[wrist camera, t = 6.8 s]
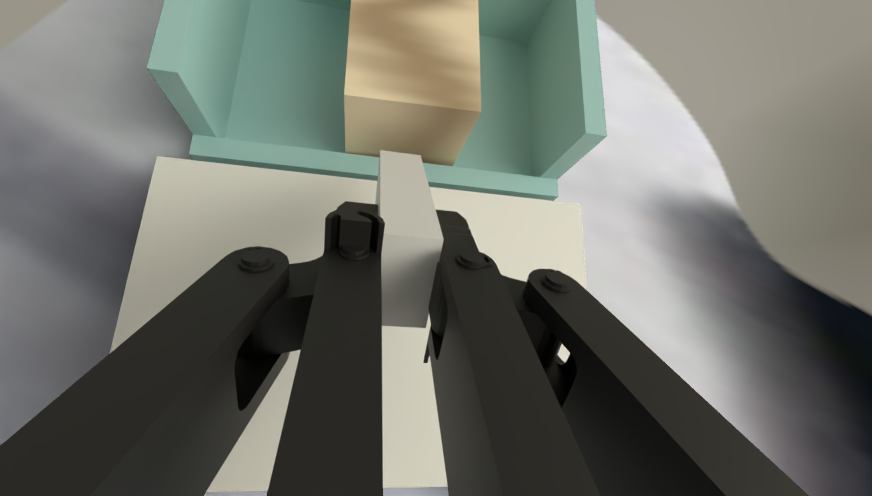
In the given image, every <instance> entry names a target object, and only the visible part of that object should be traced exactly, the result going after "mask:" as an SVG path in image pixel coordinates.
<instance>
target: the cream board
mask: <svg viewBox="0 0 872 496" xmlns="http://www.w3.org/2000/svg"><path fill="white" fill-rule="evenodd" d="M429 188H430V191H431V195H432V199H433V202H434V206H435V209H436V210H445V211H455V212H458V213H459V214H460V215H461V216H463V217H464V218H465V219H466V221H467V223H468V226H469V229H470V231H471V233H472V236H473V238H474V240H475V243H476V245H477V248H478V250H479V252H482V253H484V254H486V255H487V256H489V257H490V258H492V259H493V260H494V262H495V263H496V265H497V267H498V269H499V271H500V273H501V275H504V276H507V277H510V278H513V279H517V280H521V281H525V282H527V279H528V276H529V273H531V272H532V271H533V270H536V269H554V270H555V271H556V270H558V271H561V272H562V273H564V274H566V275H568V276H570V277H571V278H573V279H574V280H576V281H577V282H578V283H579V284H580V285H581V286H582V287H584V288H585V289H586V290H587V285H586V270H585V255H584V240H583V226H582V211H581V204H577V203H568V202H559V201H550V200H541V199H533V198H524V197H515V196H506V195H497V194H488V193H479V192H471V191H462V190H453V189H444V188H435V187H429ZM376 189H377V181H373V180H364V179H355V178H347V177H338V176H329V175H320V174H311V173H302V172H293V171H285V170H276V169H267V168H258V167H249V166H240V165H231V164H223V163H214V162H205V161H196V160H187V159H178V158H169V157H161V156H157V158H156V162H155V166H154V170H153V174H152V179H151V183H150V187H149V191H148V195H147V199H146V204H145V208H144V212H143V216H142V220H141V225H140V229H139V233H138V237H137V241H136V245H135V250H134V254H133V258H132V262H131V266H130V270H129V275H128V279H127V283H126V287H125V291H124V295H123V300H122V304H121V308H120V312H119V316H118V321H117V325H116V329H115V333H114V337H113V341H112V346H111V350H110V353H111V352H112V351H113V350H115V349H116V348H117V347H118V346H119V345H121V344H122V343H123V342H124V341H125V340H126V339H128V338H129V337H130V336H131V335H132V334H134V333H135V332H136V331H137V330H138V329H140V328H141V327H142V326H143V325H144V324H145V323H147V322H148V321H149V320H150V319H151V318H153V317H154V316H155V315H156V314H157V313H159V312H160V311H161V310H162V309H163V308H164V307H166V306H167V305H168V304H169V303H170V302H172V301H173V300H174V299H175V298H176V297H177V296H179V295H180V294H181V293H182V292H183V291H185V290H186V289H187V288H188V287H189V286H191V285H192V284H193V283H194V282H195V281H196V280H198V279H199V278H200V277H201V276H202V275H204V274H205V273H206V272H207V271H208V270H209V269H211V268H212V267H213V266H214V265H215V264H217V263H218V262H219V261H220V260H221V259H223V258H224V257H225V256H226V255H228V254H230V253H232V252H233V251H236V250H239V249H243V248H246V247H252V246H253V247H255V246H261V247H268V248H273V249H276V250H279V251H281V252H282V253H284V254H285V255H286V256H287V257H288V260H289V264H293V263H302V262H308V261H311V260H314V259H317V258H319V257H321V256H322V255H323V252H324V238H325V218H326V216H327V215H328V214H329V213H330V212H333V211H335V210H337V207H338V206H340V205H341V204H343V203H344V202H345V201H349V202H359V203H368V204H375V198H376ZM430 326H431V322H430V316H429V315H428V320H427V325H426V328H415V327H396V326H382V429H383V488H405V487H447V486H448V485H447V477H446V470H445V463H444V456H443V448H442V441H441V434H440V427H439V419H438V412H437V405H436V397H435V390H434V383H433V376H432V368H431V361H430V356H429V358H428V363H423V361H424V355H425V350H426V345H427V341H428V336H429V331H430ZM300 351H301V350H297V351H292V352H290V354H289V357H288V360H287V362H286V364H285V365H284V367H283V368H282V370H281V372H280V373H279V375H278V376H277V378H276V380H275V381H274V383H273V385H272V386H271V388H270V389H269V391H268V393H267V394H266V396H265V397H264V399H263V401H262V402H261V404H260V405H259V407H258V409H257V410H256V412H255V414H254V415H253V417H252V418H251V420H250V422H249V423H248V425H247V426H246V428H245V430H244V431H243V433H242V435H241V436H240V438H239V439H238V441H237V443H236V444H235V446H234V447H233V449H232V451H231V452H230V454H229V456H228V457H227V459H226V460H225V462H224V464H223V465H222V467H221V468H220V470H219V472H218V473H217V475H216V476H215V478H214V480H213V481H212V483H211V485H210V486H209V488H208V489H207V491H206V492H234V491H268V488H269V484H270V479H271V475H272V471H273V467H274V462H275V458H276V454H277V449H278V445H279V441H280V437H281V432H282V428H283V424H284V419H285V415H286V411H287V407H288V402H289V398H290V394H291V389H292V385H293V381H294V376H295V372H296V368H297V364H298V359H299V355H300ZM557 355H558V356H559V357H560V358H561V359H562V360H563V361H564V362H566V361H567V359H568V357H569V355H570V352H569V351H568V350H567V349H566V348H565V347H564V345H563V344H562V345H561V347H560V350H559V352H558V354H557Z"/></svg>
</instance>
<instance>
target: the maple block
mask: <svg viewBox="0 0 872 496" xmlns="http://www.w3.org/2000/svg"><path fill="white" fill-rule="evenodd" d="M344 112H345V153H348V154H356V155H364V156H372V157H380V150H383V151H391V152H399V153H406V154H414V155H421V159H422V162H423V163H429V164H437V165H445V166H453V165H454V163H455V161H456V159H457V157H458V155H459V153H460V151H461V149H462V148H463V146H464V144H465V142H466V140H467V138H468V136H469V134H470V132H471V131H472V129H473V127H474V125H475V123H476V121H477V119H478V117H479V115H480V114H481V82H480V47H479V11H478V0H351V8H350V22H349V35H348V49H347V62H346V76H345V89H344Z"/></svg>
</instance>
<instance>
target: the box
mask: <svg viewBox="0 0 872 496" xmlns="http://www.w3.org/2000/svg"><path fill="white" fill-rule="evenodd" d="M350 8H351V0H164V4H163V8H162V12H161V15H160V19H159V23H158V27H157V31H156V34H155V38H154V42H153V46H152V49H151V53H150V57H149V61H148V65H147V69H148V71H149V72H150V74H151V75H152V76H153V78H154V79H155V81H156V82H157V84H158V85H159V86H160V88H161V89H162V91H163V92H164V94H165V95H166V96H167V98H168V99H169V101H170V102H171V104H172V105H173V106H174V108H175V109H176V111H177V112H178V114H179V115H180V116H181V118H182V119H183V121H184V122H185V124H186V125H187V126H188V128H189V129H190V131H191V132H192V134H193V137H192V141H191V146H190V151H189V155H190V156H191V158H192V159H193V160H196V161H205V162H214V163H223V164H231V165H240V166H249V167H258V168H267V169H276V170H285V171H293V172H302V173H311V174H320V175H329V176H338V177H347V178H355V179H364V180H373V181H377V179H378V169H379V160H380V157H372V156H364V155H356V154H348V153H345V112H344V89H345V76H346V62H347V49H348V35H349V22H350ZM478 11H479V47H480V82H481V114H480V115H479V117H478V119H477V121H476V123H475V125H474V127H473V129H472V131H471V132H470V134H469V136H468V138H467V140H466V142H465V144H464V146H463V148H462V149H461V151H460V153H459V155H458V157H457V159H456V161H455V163H454V165H453V166H445V165H437V164H429V163H423V166H424V170H425V173H426V177H427V181H428V184H429V187H435V188H444V189H453V190H462V191H471V192H479V193H488V194H497V195H506V196H515V197H524V198H533V199H541V200H550V201H553V200H555V199H556V198H557V197H558V184H557V179H558V178H559V177H561V176H562V175H563V174H564V173H565V172H566V171H567V170H569V169H570V168H571V167H572V166H573V165H574V164H575V163H577V162H578V161H579V160H580V159H581V158H582V157H584V156H585V155H586V154H587V153H588V152H589V151H590V150H592V149H593V148H594V147H595V146H596V145H597V144H598V143H600V142H601V141H602V140H603V139H604V138H605V137H606V136H607V131H606V120H605V109H604V98H603V87H602V76H601V65H600V54H599V43H598V32H597V21H596V11H595V0H478Z"/></svg>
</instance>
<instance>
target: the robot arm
mask: <svg viewBox="0 0 872 496" xmlns="http://www.w3.org/2000/svg"><path fill="white" fill-rule="evenodd" d="M428 315H429V316H430V322H431V326H430V331H429V336H428V341H427V345H426V350H425V355H424V361H423V363H428V358H429V356H430V361H431V368H432V376H433V383H434V390H435V397H436V405H437V412H438V419H439V427H440V434H441V441H442V448H443V456H444V463H445V470H446V477H447V485H448V492H449V496H809V495H807V494H806V493H805V492H804V491H803V490H802V489H801V488H800V487H799V486H798V485H797V484H796V483H794V482H793V481H792V480H791V479H790V478H789V477H788V476H787V475H786V474H785V473H784V472H783V471H782V470H780V469H779V468H778V467H777V466H776V465H775V464H774V463H773V462H772V461H771V460H770V459H769V458H767V457H766V456H765V455H764V454H763V453H762V452H761V451H760V450H759V449H758V448H757V447H756V446H754V445H753V444H752V443H751V442H750V441H749V440H748V439H747V438H746V437H745V436H744V435H743V434H741V433H740V432H739V431H738V430H737V429H736V428H735V427H734V426H733V425H732V424H731V423H730V422H728V421H727V420H726V419H725V418H724V417H723V416H722V415H721V414H720V413H719V412H718V411H717V410H716V409H714V408H713V407H712V406H711V405H710V404H709V403H708V402H707V401H706V400H705V399H704V398H703V397H701V396H700V395H699V394H698V393H697V392H696V391H695V390H694V389H693V388H692V387H691V386H690V385H688V384H687V383H686V382H685V381H684V380H683V379H682V378H681V377H680V376H679V375H678V374H677V373H675V372H674V371H673V370H672V369H671V368H670V367H669V366H668V365H667V364H666V363H665V362H664V361H663V360H661V359H660V358H659V357H658V356H657V355H656V354H655V353H654V352H653V351H652V350H651V349H650V348H648V347H647V346H646V345H645V344H644V343H643V342H642V341H641V340H640V339H639V338H638V337H637V336H635V335H634V334H633V333H632V332H631V331H630V330H629V329H628V328H627V327H626V326H625V325H624V324H622V323H621V322H620V321H619V320H618V319H617V318H616V317H615V316H614V315H613V314H612V313H611V312H610V311H608V310H607V309H606V308H605V307H604V306H603V305H602V304H601V303H600V302H599V301H598V300H597V299H595V298H594V297H593V296H592V295H591V294H590V293H589V292H588V291H587V290H586V289H585V288H584V287H582V286H581V285H580V284H579V283H578V282H577V281H576V280H574V279H573V278H571V277H570V276H568V275H566V274H564V273H562V272H561V271H558V270H556V271H555V270H554V269H536V270H533V271H532V272H531V273H529V276H528V279H527V282H525V281H521V280H517V279H513V278H510V277H507V276H504V275H501V273H500V271H499V269H498V267H497V265H496V263H495V262H494V260H493V259H492V258H490V257H489V256H487V255H486V254H484V253H482V252H479V250H478V248H477V245H476V243H475V240H474V238H473V236H472V233H471V231H470V229H469V226H468V223H467V221H466V219H465V218H464V217H463V216H461V215H460V214H459V213H458V212H455V211H445V210H436V209H435V206H434V202H433V199H432V195H431V191H430V188H429V184H428V181H427V177H426V173H425V170H424V166H423V162H422V159H421V155H414V154H406V153H399V152H391V151H383V150H380V160H379V169H378V179H377V189H376V198H375V204H368V203H359V202H349V201H345V202H344V203H343V204H341V205H340V206H338V207H337V210H335V211H333V212H330V213H329V214H328V215H327V216H326V218H325V238H324V252H323V255H322V256H321V257H319V258H317V259H314V260H311V261H308V262H302V263H293V264H289V260H288V257H287V256H286V255H285V254H284V253H282V252H281V251H279V250H276V249H273V248H268V247H261V246H255V247H253V246H252V247H246V248H243V249H239V250H236V251H233V252H232V253H230V254H228V255H226V256H225V257H224V258H223V259H221V260H220V261H219V262H218V263H217V264H215V265H214V266H213V267H212V268H211V269H209V270H208V271H207V272H206V273H205V274H204V275H202V276H201V277H200V278H199V279H198V280H196V281H195V282H194V283H193V284H192V285H191V286H189V287H188V288H187V289H186V290H185V291H183V292H182V293H181V294H180V295H179V296H177V297H176V298H175V299H174V300H173V301H172V302H170V303H169V304H168V305H167V306H166V307H164V308H163V309H162V310H161V311H160V312H159V313H157V314H156V315H155V316H154V317H153V318H151V319H150V320H149V321H148V322H147V323H145V324H144V325H143V326H142V327H141V328H140V329H138V330H137V331H136V332H135V333H134V334H132V335H131V336H130V337H129V338H128V339H126V340H125V341H124V342H123V343H122V344H121V345H119V346H118V347H117V348H116V349H115V350H113V351H112V352H111V353H110V354H109V355H108V356H106V357H105V358H104V359H103V360H102V361H100V362H99V363H98V364H97V365H96V366H94V367H93V368H92V369H91V370H90V371H89V372H87V373H86V374H85V375H84V376H83V377H81V378H80V379H79V380H78V381H77V382H76V383H74V384H73V385H72V386H71V387H70V388H68V389H67V390H66V391H65V392H64V393H62V394H61V395H60V396H59V397H58V398H57V399H55V400H54V401H53V402H52V403H51V404H49V405H48V406H47V407H46V408H45V409H43V410H42V411H41V412H40V413H39V414H38V415H36V416H35V417H34V418H33V419H32V420H30V421H29V422H28V423H27V424H26V425H25V426H23V427H22V428H21V429H20V430H19V431H17V432H16V433H15V434H14V435H13V436H11V437H10V438H9V439H8V440H7V441H6V442H4V443H3V444H2V445H1V446H0V496H204V494H205V493H206V491H207V489H208V488H209V486H210V485H211V483H212V481H213V480H214V478H215V476H216V475H217V473H218V472H219V470H220V468H221V467H222V465H223V464H224V462H225V460H226V459H227V457H228V456H229V454H230V452H231V451H232V449H233V447H234V446H235V444H236V443H237V441H238V439H239V438H240V436H241V435H242V433H243V431H244V430H245V428H246V426H247V425H248V423H249V422H250V420H251V418H252V417H253V415H254V414H255V412H256V410H257V409H258V407H259V405H260V404H261V402H262V401H263V399H264V397H265V396H266V394H267V393H268V391H269V389H270V388H271V386H272V385H273V383H274V381H275V380H276V378H277V376H278V375H279V373H280V372H281V370H282V368H283V367H284V365H285V364H286V362H287V360H288V357H289V354H290V352H292V351H297V350H301V351H300V355H299V359H298V364H297V368H296V372H295V376H294V381H293V385H292V389H291V394H290V398H289V402H288V407H287V411H286V415H285V419H284V424H283V428H282V432H281V437H280V441H279V445H278V449H277V454H276V458H275V462H274V467H273V471H272V475H271V479H270V484H269V488H268V492H267V496H383V429H382V326H396V327H415V328H426V325H427V320H428ZM562 344H563V345H564V347H565V348H566V349H567V350H568V351H569V352H570V355H569V357H568V359H567V361H566V362H564V361H563V360H562V359H561V358H560V357H559V356H558V355H557V354H558V352H559V350H560V347H561V345H562Z"/></svg>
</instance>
